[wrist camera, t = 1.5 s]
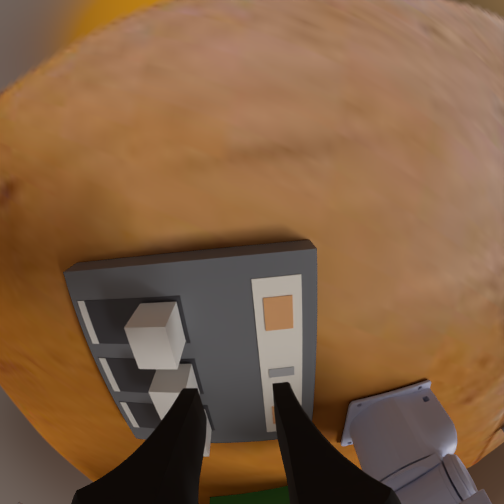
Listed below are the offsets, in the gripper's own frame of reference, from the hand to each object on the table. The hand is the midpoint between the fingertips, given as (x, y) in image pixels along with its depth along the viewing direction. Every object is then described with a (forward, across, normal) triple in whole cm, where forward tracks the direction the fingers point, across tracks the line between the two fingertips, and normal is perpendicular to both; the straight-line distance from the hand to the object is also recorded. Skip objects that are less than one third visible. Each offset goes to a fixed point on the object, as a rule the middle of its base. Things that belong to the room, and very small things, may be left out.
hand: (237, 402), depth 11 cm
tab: (+7, +5, 0) cm, 9 cm away
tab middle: (+7, +5, +5) cm, 10 cm away
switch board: (+9, +4, +5) cm, 11 cm away
